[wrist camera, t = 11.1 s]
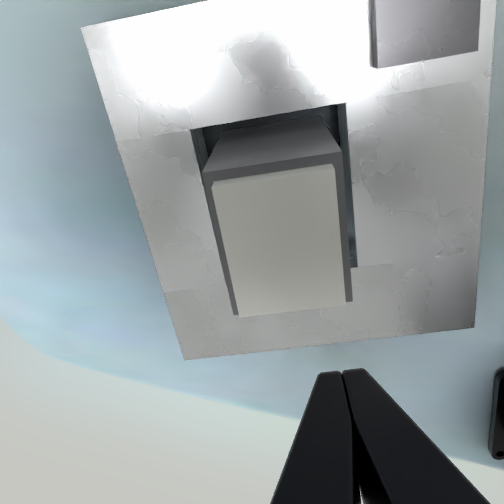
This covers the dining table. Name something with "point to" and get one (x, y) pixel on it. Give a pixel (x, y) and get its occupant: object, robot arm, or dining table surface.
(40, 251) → the dining table surface
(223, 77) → the socket plate
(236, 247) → the plug
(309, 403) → the robot arm
